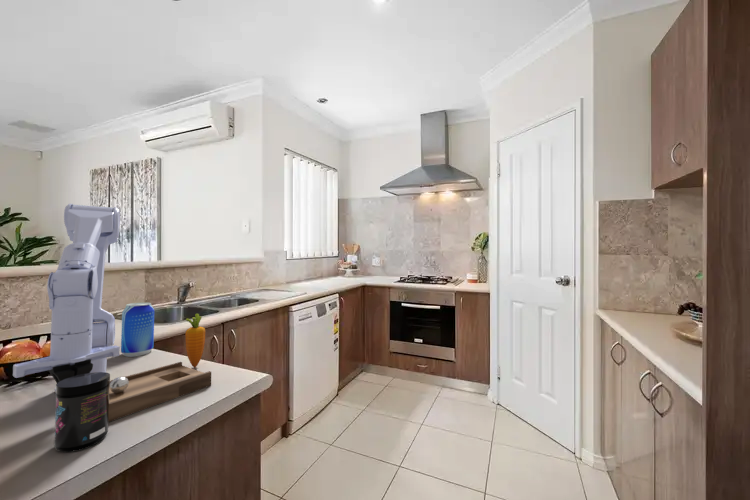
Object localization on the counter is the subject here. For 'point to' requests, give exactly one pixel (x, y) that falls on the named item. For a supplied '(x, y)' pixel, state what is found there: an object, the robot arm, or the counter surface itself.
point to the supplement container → (81, 411)
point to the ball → (119, 384)
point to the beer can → (137, 329)
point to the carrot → (195, 340)
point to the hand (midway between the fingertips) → (69, 403)
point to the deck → (156, 388)
